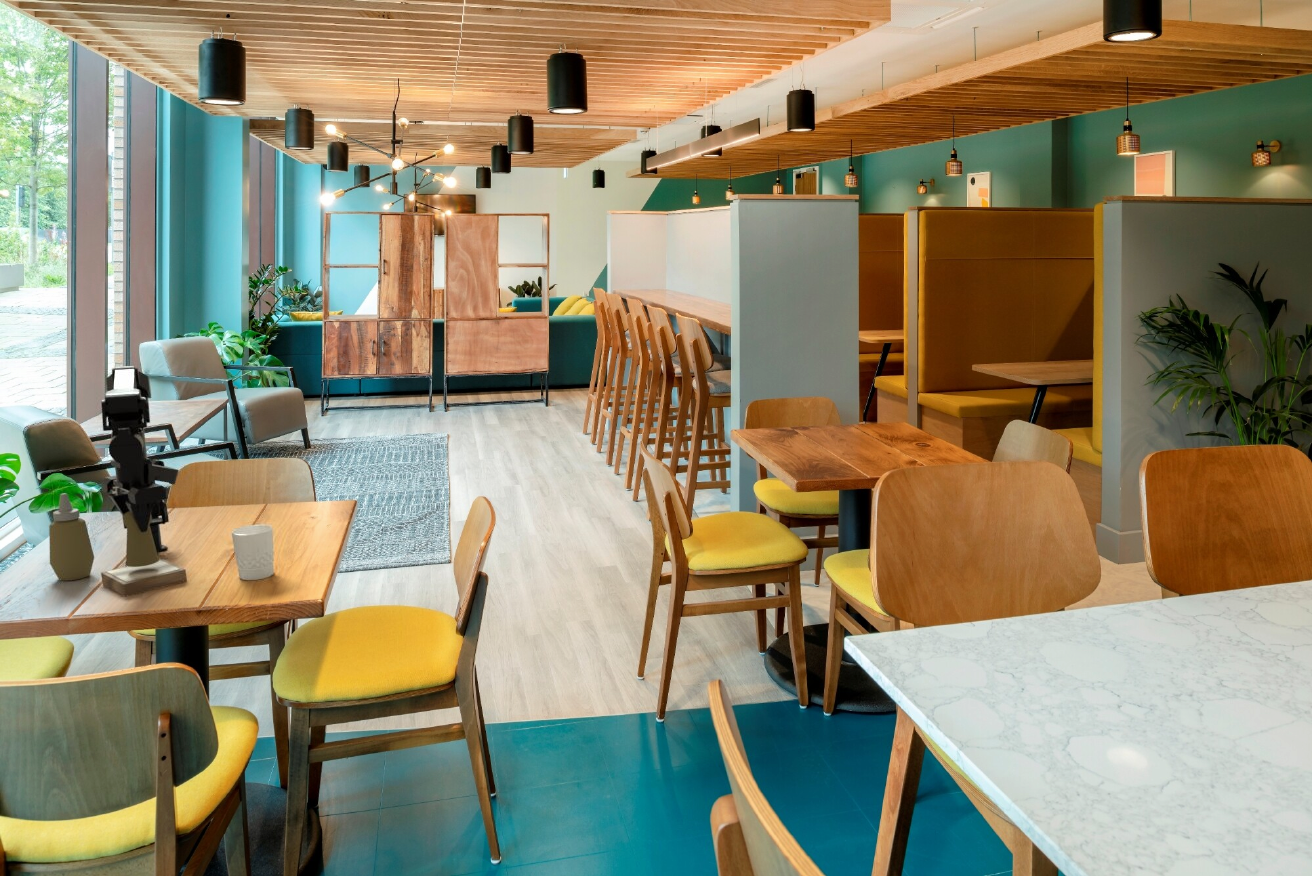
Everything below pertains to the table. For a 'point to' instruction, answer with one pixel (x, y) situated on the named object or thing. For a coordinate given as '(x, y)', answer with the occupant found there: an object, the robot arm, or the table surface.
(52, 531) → the squeeze bottle
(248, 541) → the white cup
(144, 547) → the cork
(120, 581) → the walnut picture frame
